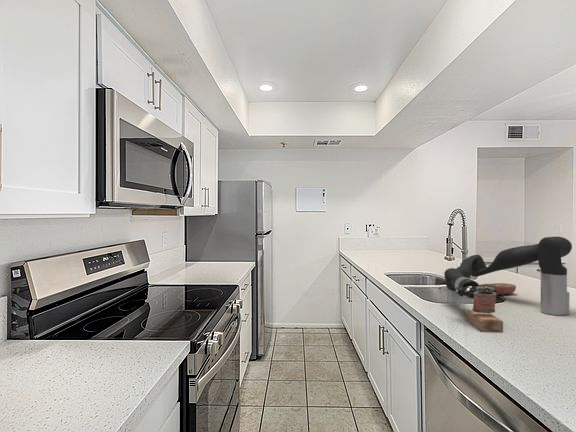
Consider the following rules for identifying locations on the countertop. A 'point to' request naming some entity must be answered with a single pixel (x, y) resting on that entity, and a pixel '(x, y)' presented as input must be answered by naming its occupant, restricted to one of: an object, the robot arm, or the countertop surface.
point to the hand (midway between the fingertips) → (484, 296)
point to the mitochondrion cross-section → (501, 288)
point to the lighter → (484, 300)
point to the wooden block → (484, 321)
